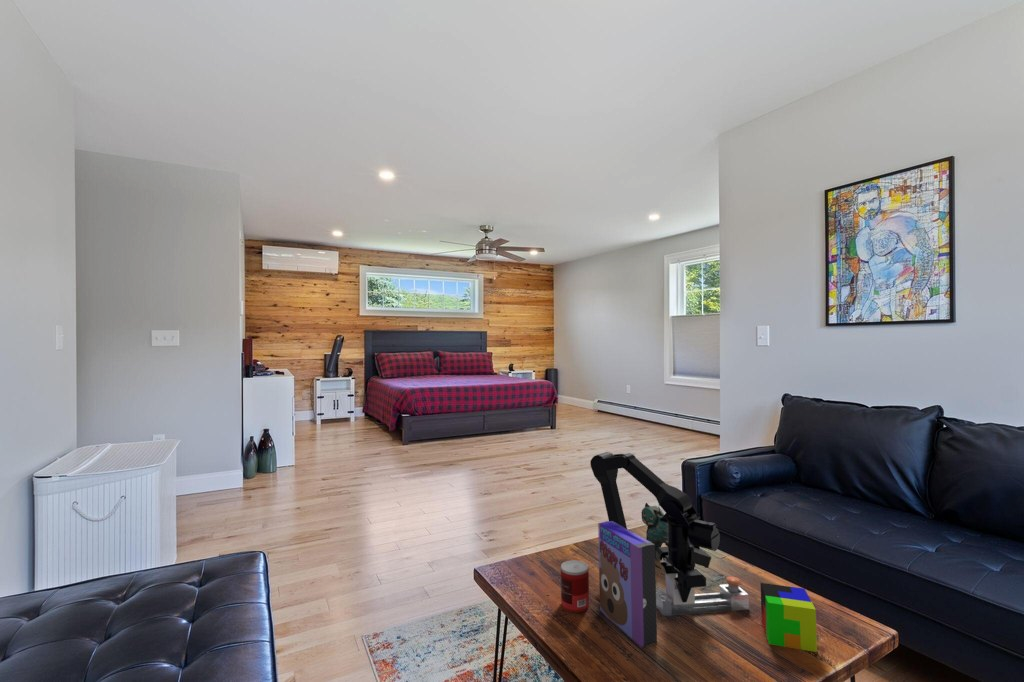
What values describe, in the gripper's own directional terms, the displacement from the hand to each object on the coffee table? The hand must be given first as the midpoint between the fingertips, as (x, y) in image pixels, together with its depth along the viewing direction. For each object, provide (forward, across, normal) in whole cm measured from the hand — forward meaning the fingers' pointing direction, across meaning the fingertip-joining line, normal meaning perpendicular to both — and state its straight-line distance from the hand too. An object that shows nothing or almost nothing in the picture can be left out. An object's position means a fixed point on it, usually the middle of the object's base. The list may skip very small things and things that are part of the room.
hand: (680, 597), depth 128 cm
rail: (+3, 0, -6) cm, 7 cm away
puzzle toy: (+3, -15, -21) cm, 26 cm away
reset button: (+1, 0, -16) cm, 16 cm away
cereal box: (+3, -6, +17) cm, 19 cm away
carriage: (+1, 0, 0) cm, 1 cm away
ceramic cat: (+3, +26, -9) cm, 28 cm away
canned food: (+3, +5, +28) cm, 29 cm away
